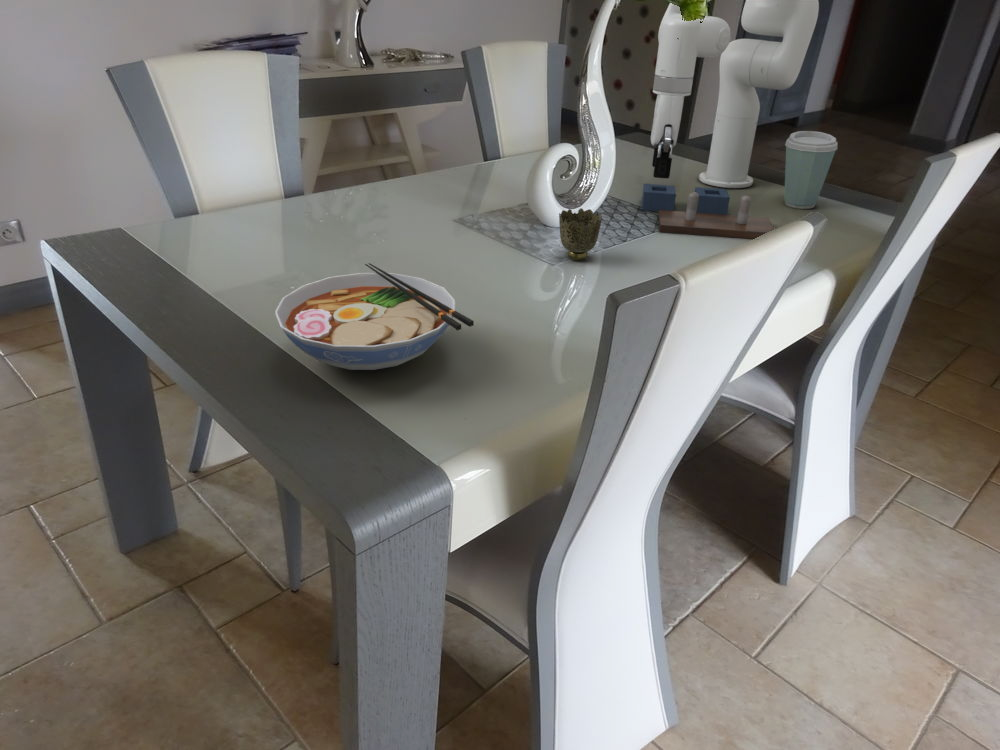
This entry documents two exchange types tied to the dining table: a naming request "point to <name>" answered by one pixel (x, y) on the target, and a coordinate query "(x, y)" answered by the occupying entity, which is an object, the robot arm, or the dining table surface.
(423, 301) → the ramen bowl
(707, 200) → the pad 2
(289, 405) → the dining table surface
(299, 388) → the dining table surface
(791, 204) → the disposable coffee cup
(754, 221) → the wooden peg board
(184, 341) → the dining table surface
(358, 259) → the dining table surface
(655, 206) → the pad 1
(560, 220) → the cup
